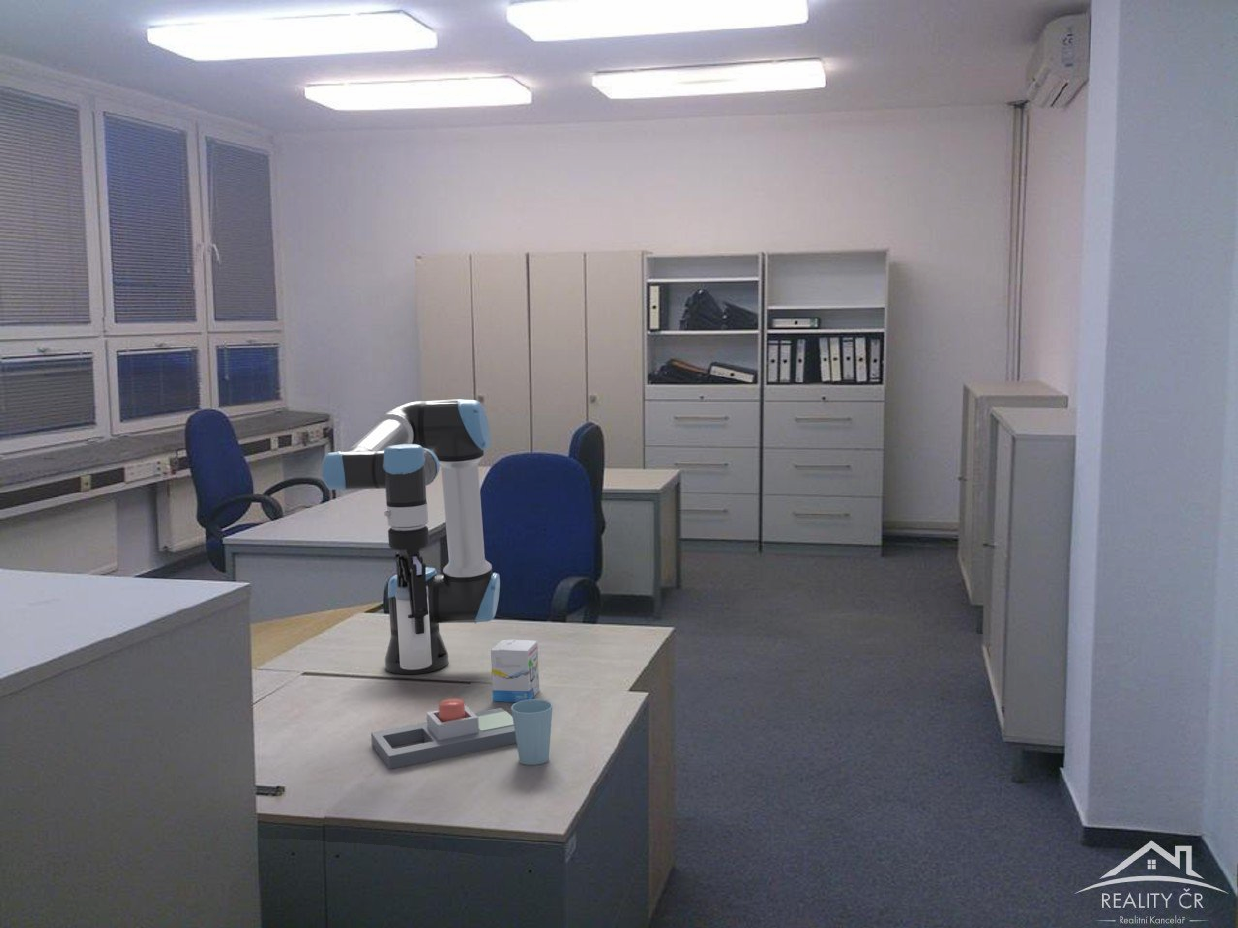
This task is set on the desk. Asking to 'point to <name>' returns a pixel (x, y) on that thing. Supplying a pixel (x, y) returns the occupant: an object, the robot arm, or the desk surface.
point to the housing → (444, 737)
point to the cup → (532, 730)
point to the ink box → (515, 670)
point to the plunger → (451, 710)
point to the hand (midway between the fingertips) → (415, 644)
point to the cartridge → (408, 656)
